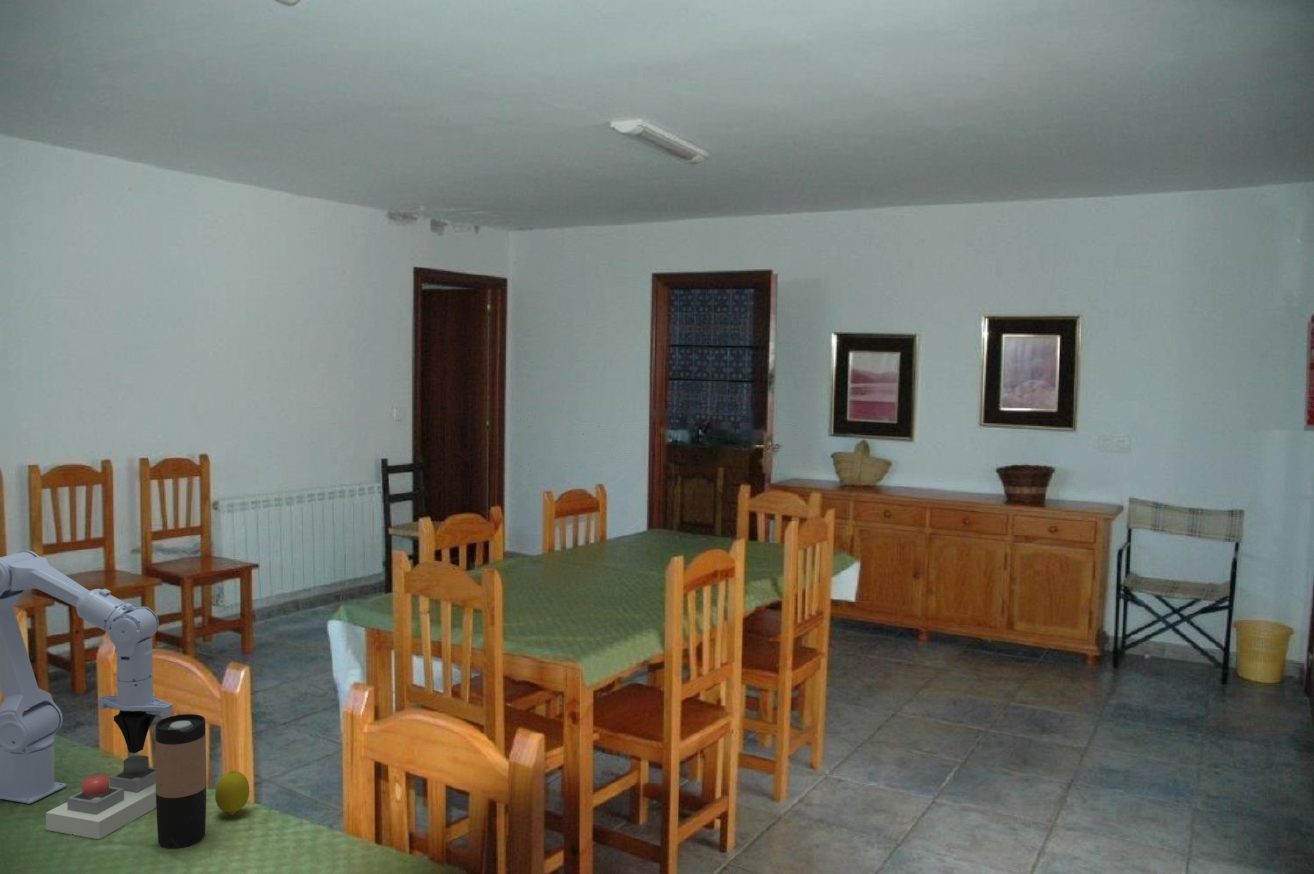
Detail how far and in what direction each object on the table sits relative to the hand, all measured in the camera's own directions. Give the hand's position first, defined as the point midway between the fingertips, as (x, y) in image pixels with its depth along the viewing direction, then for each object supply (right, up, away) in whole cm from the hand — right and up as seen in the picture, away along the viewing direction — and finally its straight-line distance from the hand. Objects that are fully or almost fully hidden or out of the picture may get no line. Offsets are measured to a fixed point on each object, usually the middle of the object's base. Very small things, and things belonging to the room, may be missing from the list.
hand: (136, 750), depth 179 cm
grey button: (0, -4, 0) cm, 4 cm away
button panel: (-1, -9, -4) cm, 10 cm away
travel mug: (+15, -11, -13) cm, 22 cm away
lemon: (+19, -10, -4) cm, 22 cm away
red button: (-3, -4, -8) cm, 10 cm away
